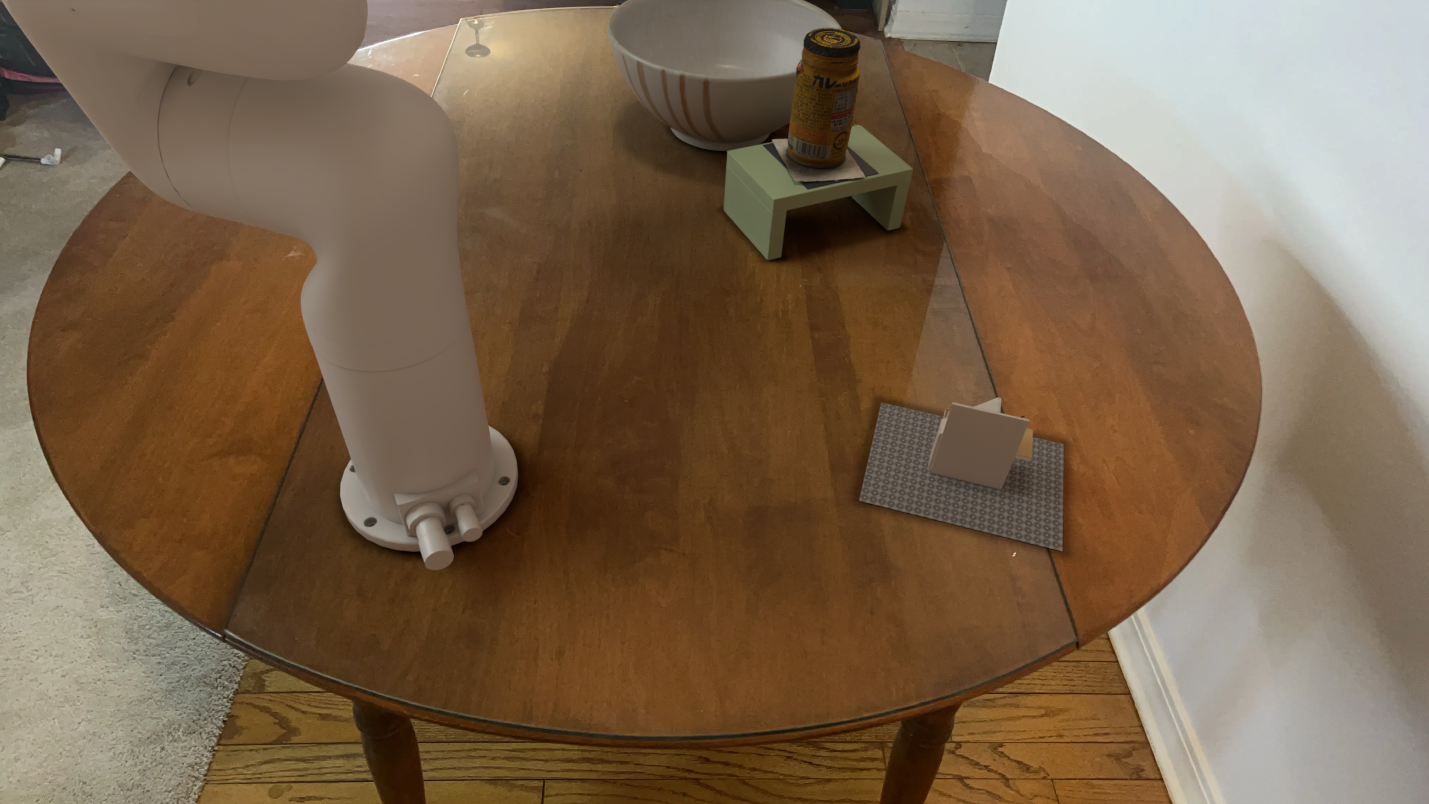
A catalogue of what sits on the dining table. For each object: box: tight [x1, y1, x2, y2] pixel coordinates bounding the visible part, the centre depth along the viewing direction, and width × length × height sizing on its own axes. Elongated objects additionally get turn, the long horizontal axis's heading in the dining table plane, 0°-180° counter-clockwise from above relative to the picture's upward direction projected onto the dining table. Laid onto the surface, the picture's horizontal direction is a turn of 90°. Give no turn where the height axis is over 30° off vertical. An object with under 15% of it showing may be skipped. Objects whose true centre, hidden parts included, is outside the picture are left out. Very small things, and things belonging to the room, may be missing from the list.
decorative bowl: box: [606, 0, 843, 152], centre depth 106 cm, size 27×27×12 cm
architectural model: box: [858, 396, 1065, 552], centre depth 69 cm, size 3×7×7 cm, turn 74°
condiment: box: [771, 28, 865, 182], centre depth 87 cm, size 7×8×12 cm
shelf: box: [723, 124, 914, 261], centre depth 93 cm, size 10×16×7 cm, turn 116°
